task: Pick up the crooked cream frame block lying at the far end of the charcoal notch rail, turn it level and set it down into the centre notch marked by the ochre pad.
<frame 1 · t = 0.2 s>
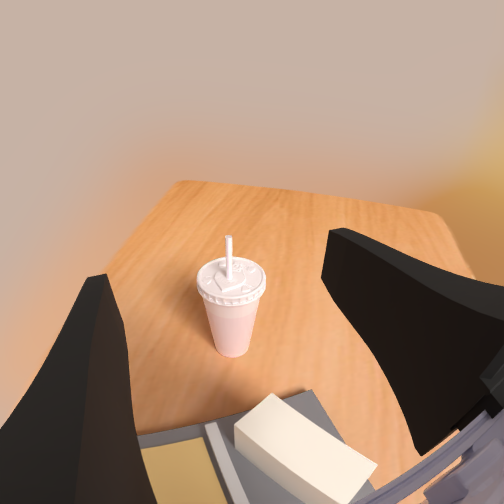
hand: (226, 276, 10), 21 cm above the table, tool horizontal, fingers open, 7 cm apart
frame block: (295, 468, 21), point 1 cm above the table, touching notch rail
notch rail: (196, 501, 19), on the table
smoothie: (232, 345, 34), on the table
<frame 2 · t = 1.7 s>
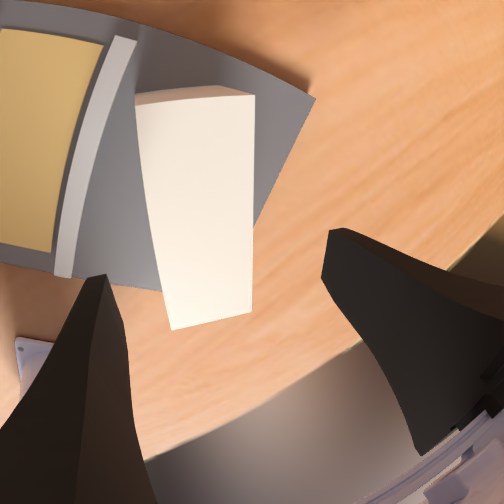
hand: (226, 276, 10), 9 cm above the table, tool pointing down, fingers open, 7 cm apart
frame block: (182, 184, 16), point 1 cm above the table, touching notch rail
notch rail: (32, 142, 12), on the table
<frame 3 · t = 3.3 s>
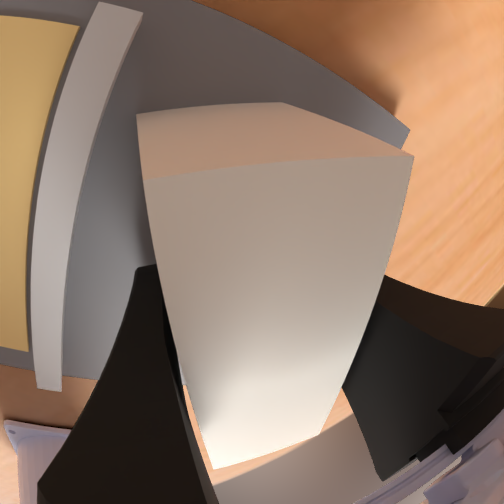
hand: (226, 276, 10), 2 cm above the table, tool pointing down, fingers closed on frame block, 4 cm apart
frame block: (218, 260, 11), point 1 cm above the table, touching gripper, notch rail
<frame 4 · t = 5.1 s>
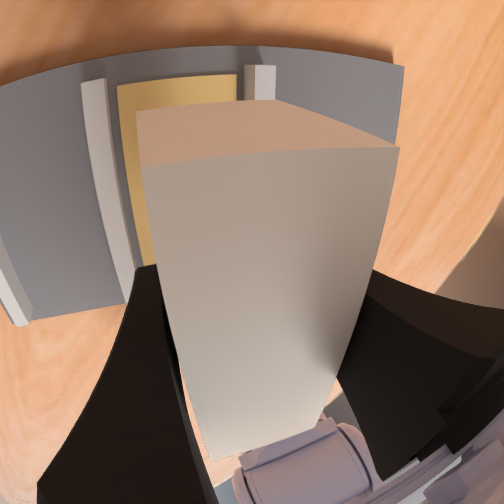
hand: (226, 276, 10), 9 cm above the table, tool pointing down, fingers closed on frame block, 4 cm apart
frame block: (215, 254, 11), point 8 cm above the table, touching gripper
notch rail: (189, 176, 17), on the table
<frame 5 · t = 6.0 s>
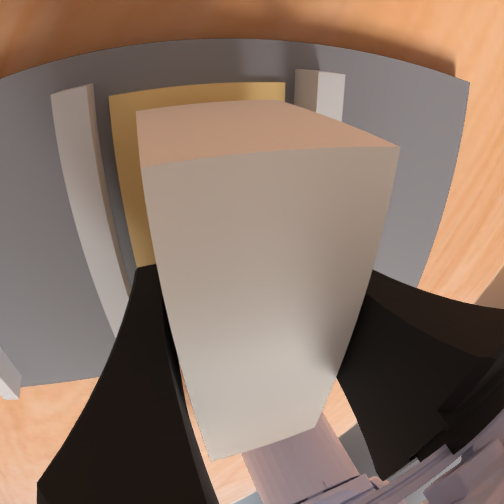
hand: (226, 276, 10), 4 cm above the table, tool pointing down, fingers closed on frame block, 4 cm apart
frame block: (215, 253, 11), point 2 cm above the table, touching gripper
notch rail: (213, 220, 13), on the table
when the fingers open (3 cm above the table, at t = 6.9 s): frame block stays where it is, resting on notch rail.
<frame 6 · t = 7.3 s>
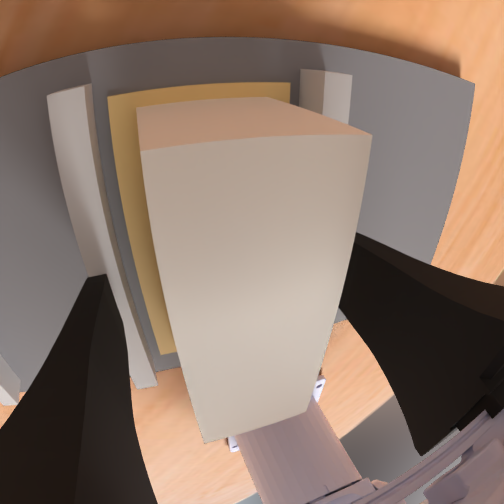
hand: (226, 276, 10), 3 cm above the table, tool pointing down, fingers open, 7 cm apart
frame block: (210, 242, 11), point 1 cm above the table, touching notch rail
notch rail: (215, 224, 12), on the table
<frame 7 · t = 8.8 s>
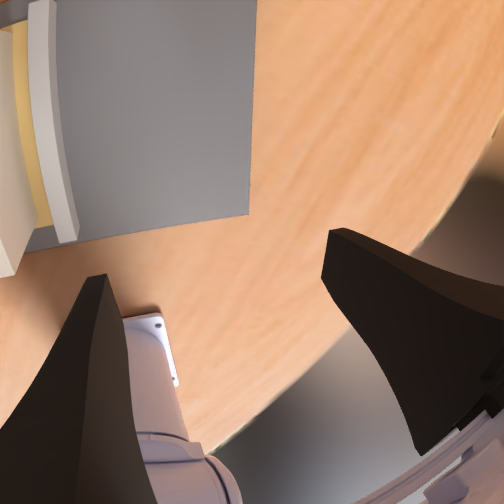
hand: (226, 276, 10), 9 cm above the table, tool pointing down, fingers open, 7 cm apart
notch rail: (3, 131, 12), on the table
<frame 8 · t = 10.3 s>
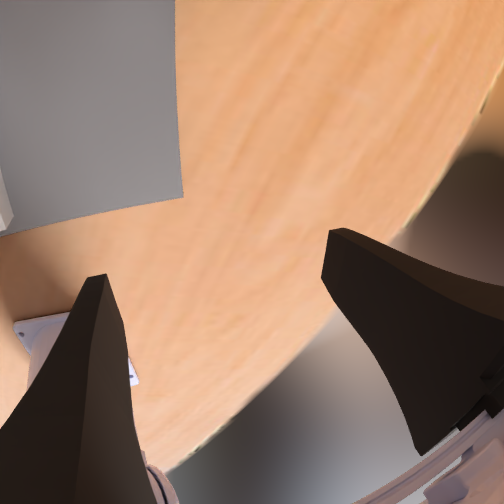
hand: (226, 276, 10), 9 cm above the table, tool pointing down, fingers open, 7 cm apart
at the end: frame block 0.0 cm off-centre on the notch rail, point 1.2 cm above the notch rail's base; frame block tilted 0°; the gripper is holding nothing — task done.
